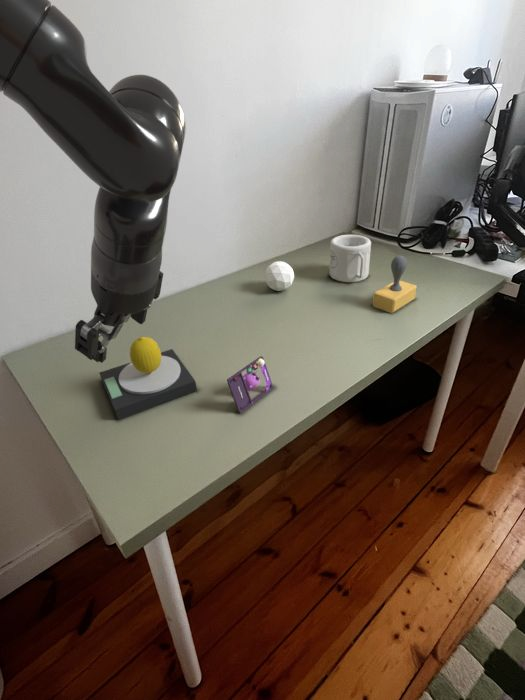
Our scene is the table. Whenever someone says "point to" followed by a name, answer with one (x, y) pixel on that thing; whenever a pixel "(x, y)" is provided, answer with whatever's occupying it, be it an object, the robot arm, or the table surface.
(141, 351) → the lemon
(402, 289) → the rubber stamp
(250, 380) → the purple toy
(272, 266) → the geometric ball
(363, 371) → the table surface
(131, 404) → the scale
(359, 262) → the mug
